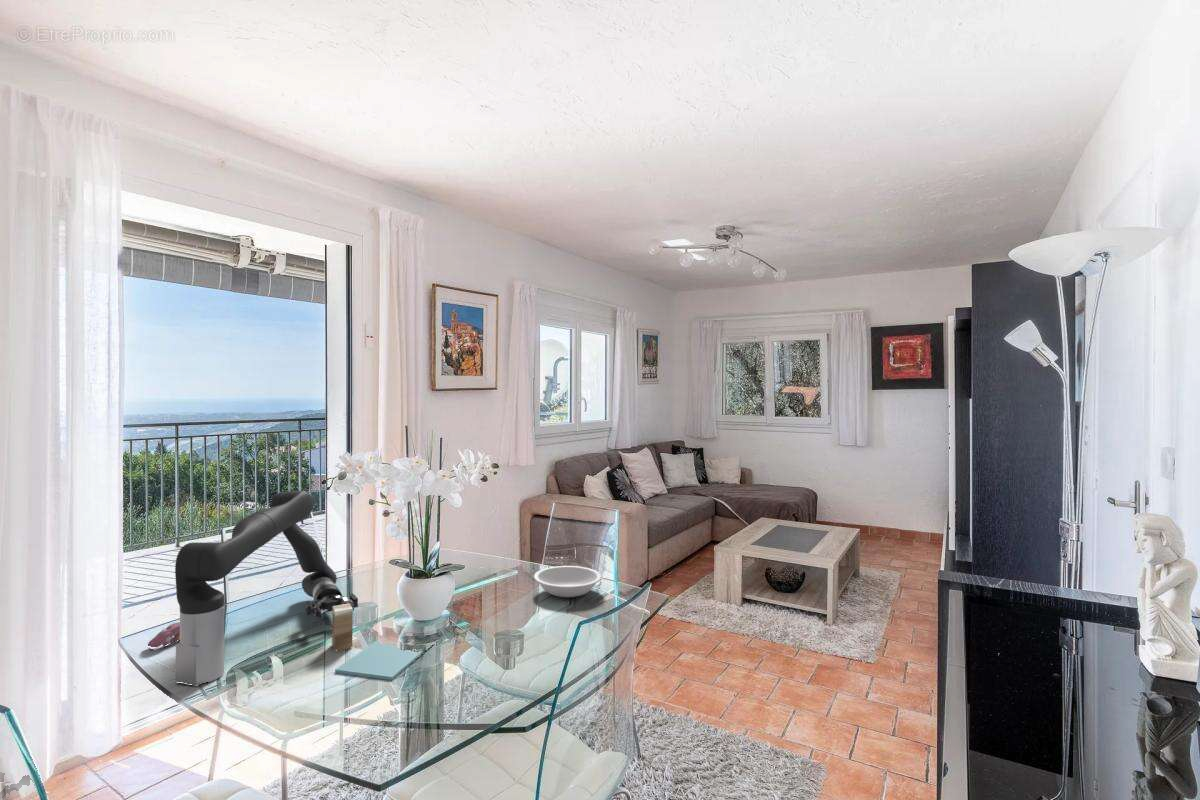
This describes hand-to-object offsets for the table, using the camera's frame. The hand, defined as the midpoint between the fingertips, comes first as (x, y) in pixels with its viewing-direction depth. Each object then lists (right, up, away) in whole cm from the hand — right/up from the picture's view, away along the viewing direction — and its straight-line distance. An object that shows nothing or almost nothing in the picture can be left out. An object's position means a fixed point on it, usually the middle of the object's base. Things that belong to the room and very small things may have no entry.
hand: (335, 612), depth 177 cm
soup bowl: (+66, -7, +37) cm, 76 cm away
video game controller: (-42, -6, -9) cm, 44 cm away
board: (+21, -7, -15) cm, 27 cm away
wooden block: (+6, -6, -9) cm, 12 cm away
